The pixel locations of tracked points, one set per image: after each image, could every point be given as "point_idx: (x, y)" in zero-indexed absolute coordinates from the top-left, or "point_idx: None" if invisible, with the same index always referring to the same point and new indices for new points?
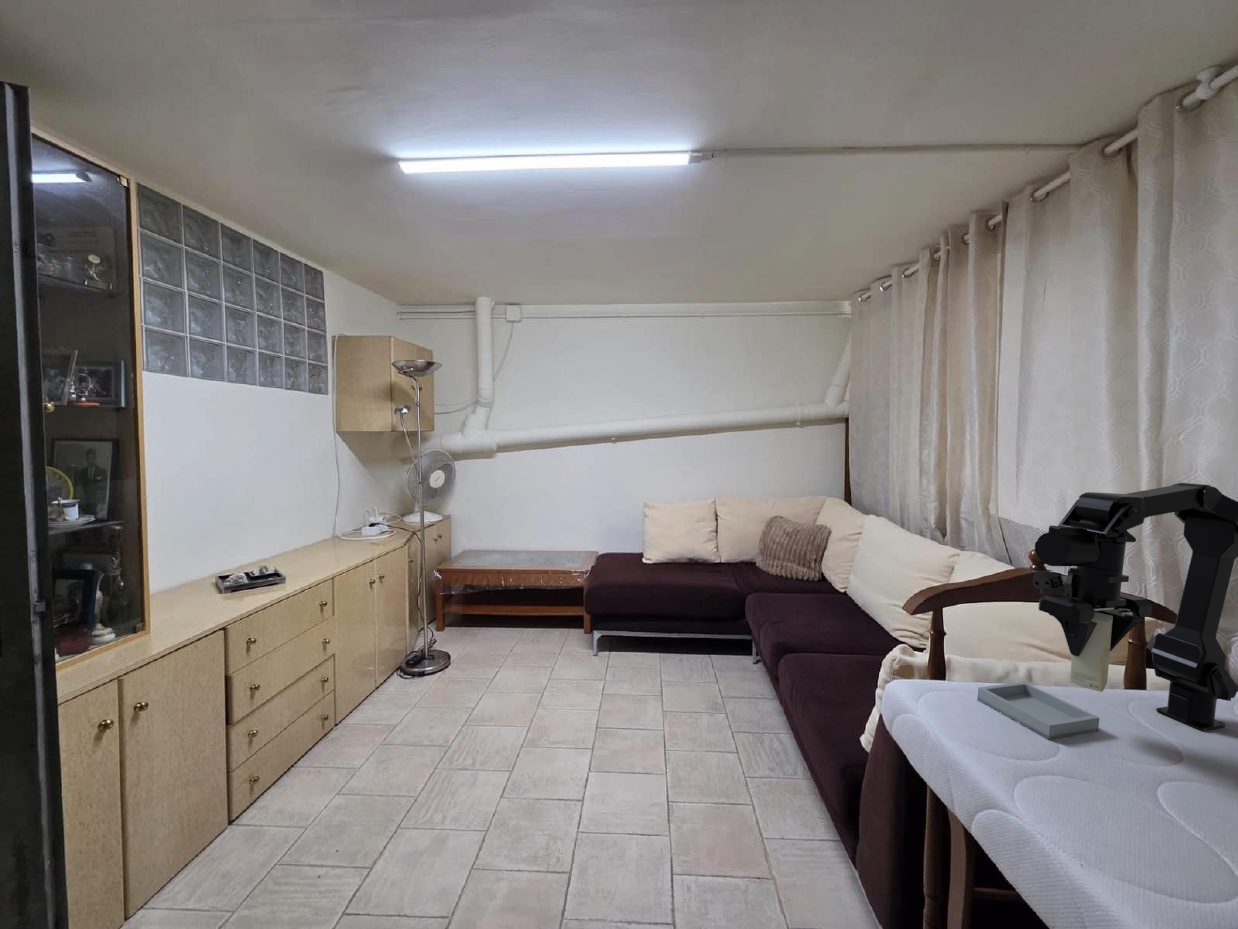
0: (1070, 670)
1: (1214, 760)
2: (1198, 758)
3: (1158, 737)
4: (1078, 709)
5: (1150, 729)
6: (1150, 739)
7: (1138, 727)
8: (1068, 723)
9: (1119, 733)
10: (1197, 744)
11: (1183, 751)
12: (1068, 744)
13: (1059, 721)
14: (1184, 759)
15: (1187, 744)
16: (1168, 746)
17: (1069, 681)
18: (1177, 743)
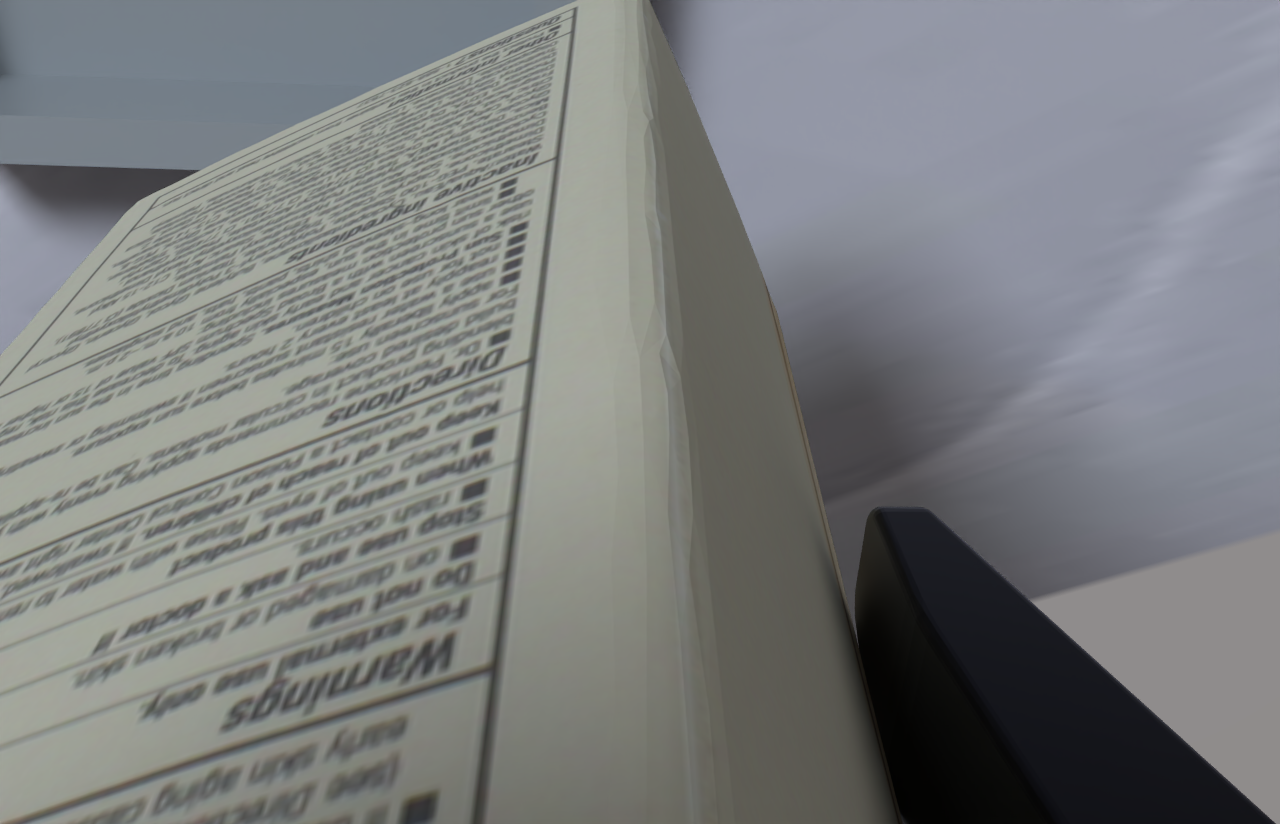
0: (60, 289)
1: (1025, 556)
2: (946, 522)
3: (1041, 309)
4: (541, 5)
5: (1156, 218)
6: (928, 311)
7: (1093, 170)
8: (132, 164)
9: (771, 191)
10: (1210, 433)
11: (961, 457)
12: (80, 193)
13: (38, 132)
14: (826, 508)
15: (1131, 416)
16: (938, 398)
17: (135, 204)
18: (1072, 392)
